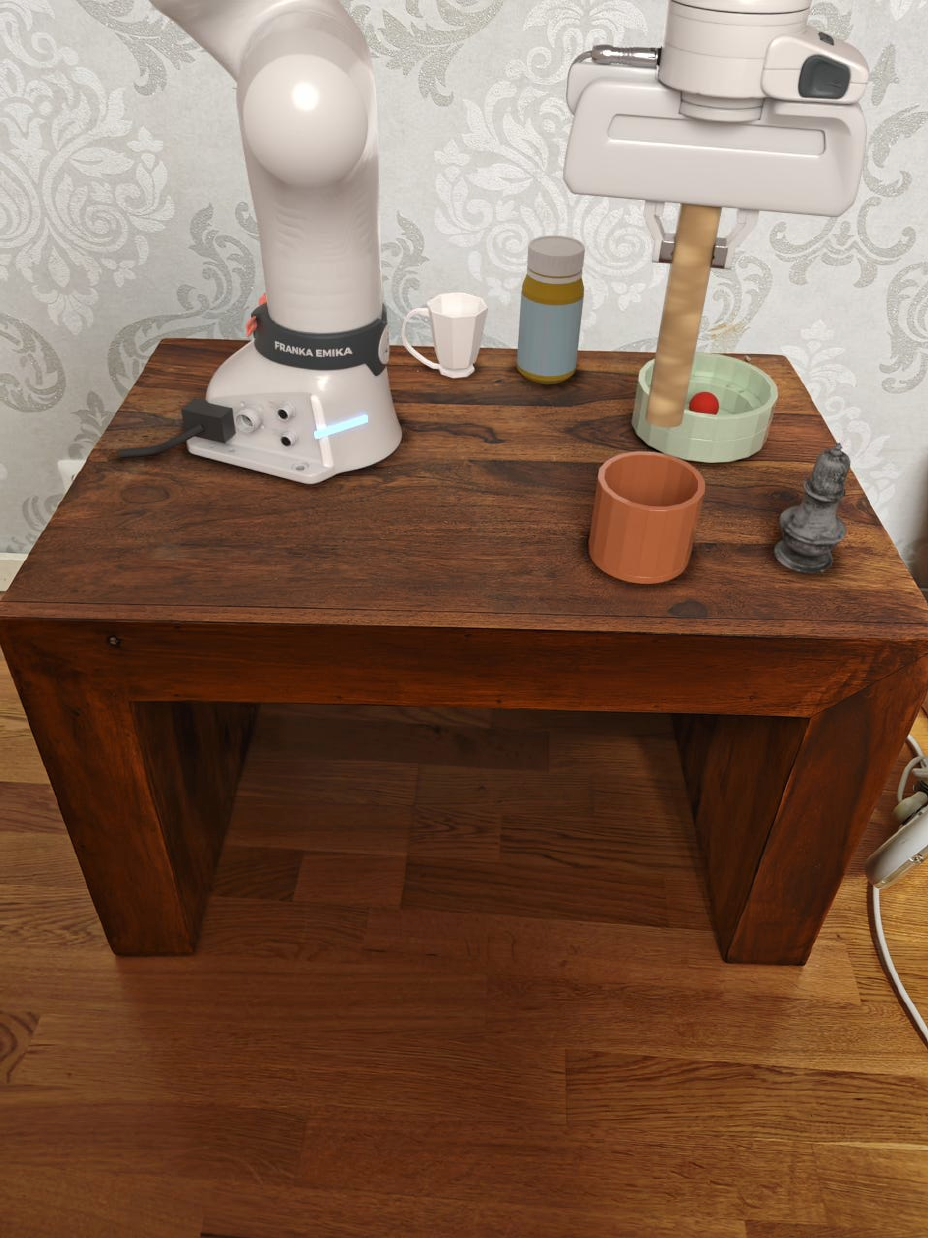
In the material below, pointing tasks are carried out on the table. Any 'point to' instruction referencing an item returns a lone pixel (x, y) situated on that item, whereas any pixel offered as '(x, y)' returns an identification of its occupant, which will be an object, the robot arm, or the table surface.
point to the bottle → (551, 309)
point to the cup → (453, 332)
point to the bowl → (710, 436)
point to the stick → (682, 313)
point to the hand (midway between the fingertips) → (691, 263)
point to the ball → (704, 403)
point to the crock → (645, 516)
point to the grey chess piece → (815, 516)
